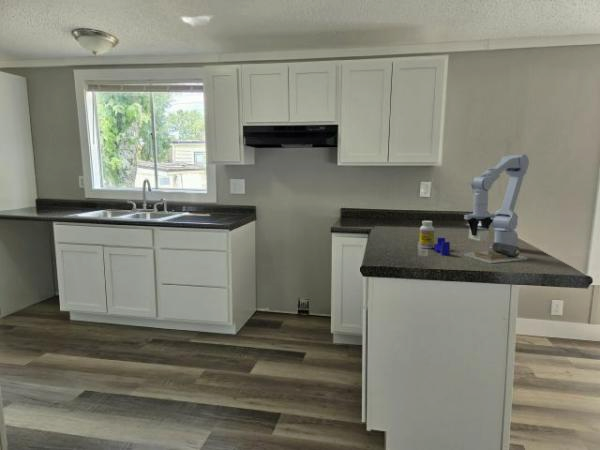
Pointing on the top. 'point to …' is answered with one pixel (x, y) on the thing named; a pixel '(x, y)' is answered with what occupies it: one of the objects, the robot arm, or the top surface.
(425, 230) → the supplement bottle
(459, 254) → the top surface
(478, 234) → the block
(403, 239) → the top surface
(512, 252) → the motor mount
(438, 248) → the cable clip
